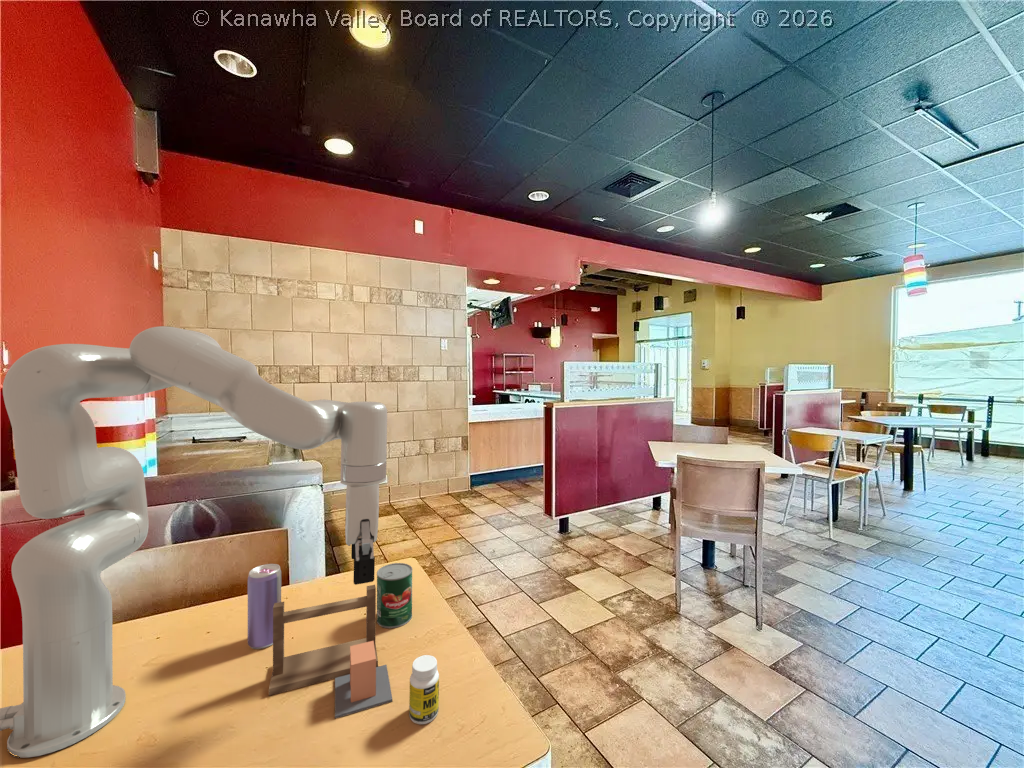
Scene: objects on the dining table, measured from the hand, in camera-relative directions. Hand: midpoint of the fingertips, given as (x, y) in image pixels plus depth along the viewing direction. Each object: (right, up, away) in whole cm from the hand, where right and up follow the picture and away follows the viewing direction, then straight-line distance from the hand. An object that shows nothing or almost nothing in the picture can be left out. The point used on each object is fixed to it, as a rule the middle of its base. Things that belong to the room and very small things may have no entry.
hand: (362, 569), depth 71 cm
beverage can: (-25, -21, +13) cm, 36 cm away
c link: (0, -21, 0) cm, 21 cm away
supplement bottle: (+12, -22, -4) cm, 25 cm away
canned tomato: (-1, -22, +22) cm, 31 cm away
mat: (0, -22, 0) cm, 22 cm away
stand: (-9, -21, +6) cm, 24 cm away
